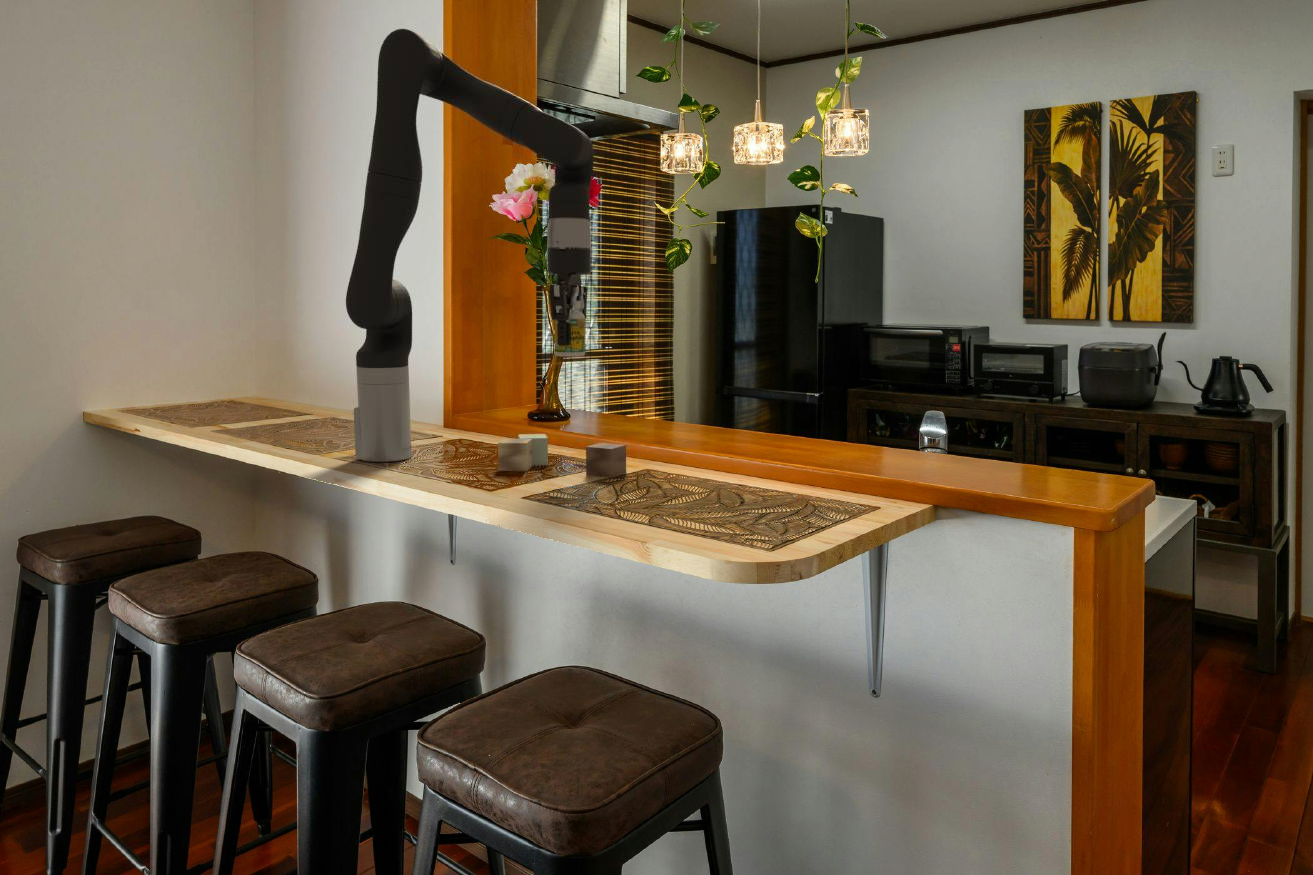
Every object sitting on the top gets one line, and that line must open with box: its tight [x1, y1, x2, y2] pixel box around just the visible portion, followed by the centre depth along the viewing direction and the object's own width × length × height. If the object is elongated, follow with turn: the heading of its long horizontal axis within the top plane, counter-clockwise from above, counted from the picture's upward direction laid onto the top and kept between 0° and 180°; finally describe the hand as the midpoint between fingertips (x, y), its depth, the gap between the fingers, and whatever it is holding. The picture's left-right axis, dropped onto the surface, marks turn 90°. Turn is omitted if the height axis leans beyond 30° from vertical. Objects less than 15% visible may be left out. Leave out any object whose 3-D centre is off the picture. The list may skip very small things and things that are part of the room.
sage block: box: [517, 433, 549, 466], centre depth 165 cm, size 5×5×5 cm
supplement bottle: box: [553, 301, 586, 357], centre depth 158 cm, size 5×5×10 cm
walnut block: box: [585, 442, 627, 479], centre depth 155 cm, size 5×5×5 cm
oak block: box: [497, 438, 533, 472], centre depth 160 cm, size 5×5×5 cm
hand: (569, 344), depth 159 cm, fingers closed on supplement bottle, 5 cm apart
